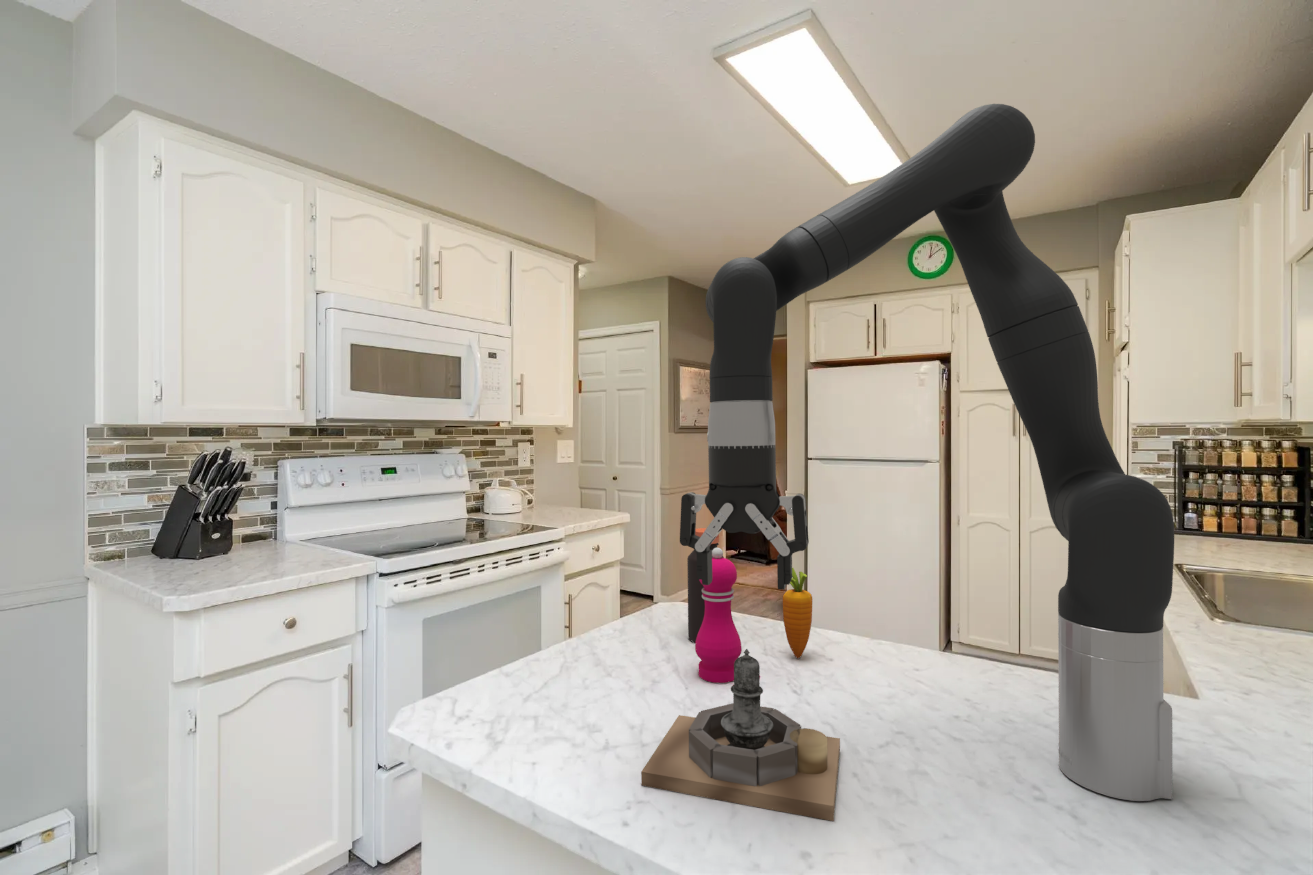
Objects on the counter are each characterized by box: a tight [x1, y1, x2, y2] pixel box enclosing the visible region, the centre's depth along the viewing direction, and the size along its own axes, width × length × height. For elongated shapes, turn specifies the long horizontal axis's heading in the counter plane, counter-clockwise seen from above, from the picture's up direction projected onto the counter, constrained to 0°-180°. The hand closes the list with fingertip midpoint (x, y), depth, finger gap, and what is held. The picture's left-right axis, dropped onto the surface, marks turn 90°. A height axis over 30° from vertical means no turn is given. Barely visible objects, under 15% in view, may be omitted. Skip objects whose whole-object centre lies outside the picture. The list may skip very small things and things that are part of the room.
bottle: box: [686, 527, 725, 643], centre depth 114 cm, size 7×7×20 cm
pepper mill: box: [694, 547, 743, 684], centre depth 97 cm, size 7×7×20 cm
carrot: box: [782, 567, 813, 660], centre depth 104 cm, size 5×5×15 cm
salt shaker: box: [721, 648, 773, 750], centre depth 70 cm, size 6×6×12 cm
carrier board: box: [640, 703, 841, 822], centre depth 70 cm, size 20×14×4 cm
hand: (743, 585), depth 70 cm, fingers open, 8 cm apart
